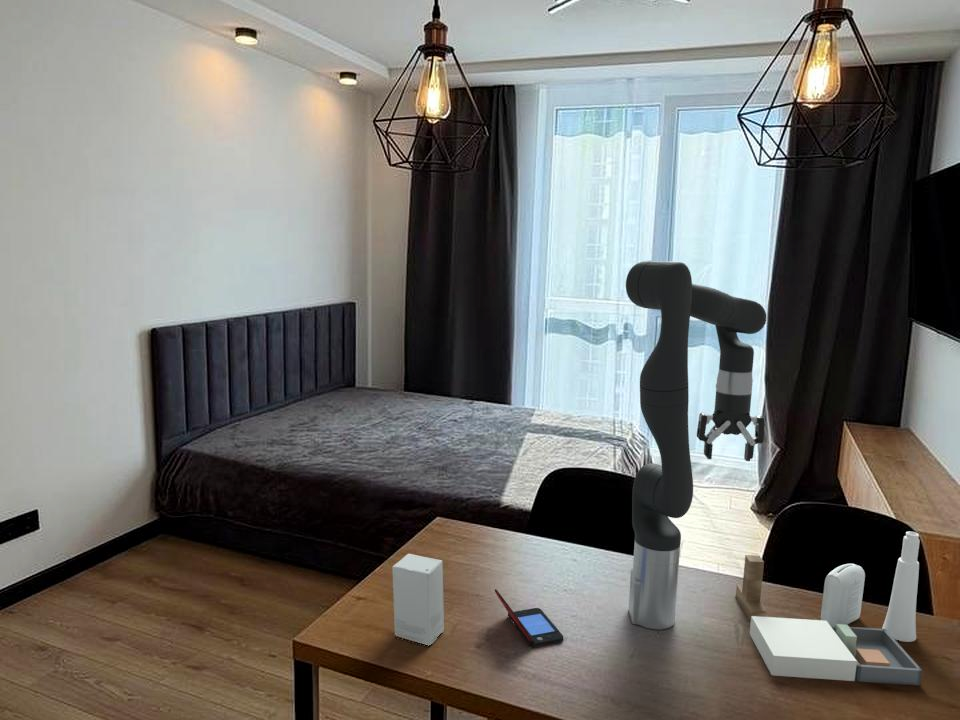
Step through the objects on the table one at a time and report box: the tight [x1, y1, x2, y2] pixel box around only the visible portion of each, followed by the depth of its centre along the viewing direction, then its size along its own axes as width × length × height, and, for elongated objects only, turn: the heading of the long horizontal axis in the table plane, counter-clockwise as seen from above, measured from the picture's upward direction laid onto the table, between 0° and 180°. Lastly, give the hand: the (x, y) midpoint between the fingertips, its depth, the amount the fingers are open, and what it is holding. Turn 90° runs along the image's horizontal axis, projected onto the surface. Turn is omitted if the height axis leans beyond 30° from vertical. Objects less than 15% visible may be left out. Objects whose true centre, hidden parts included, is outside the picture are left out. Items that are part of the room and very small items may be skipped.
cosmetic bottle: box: [881, 530, 921, 643], centre depth 139 cm, size 6×6×22 cm
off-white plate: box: [749, 616, 857, 682], centre depth 132 cm, size 15×14×4 cm
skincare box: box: [392, 553, 445, 647], centre depth 136 cm, size 8×7×16 cm
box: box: [831, 626, 923, 686], centre depth 131 cm, size 11×14×3 cm
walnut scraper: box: [735, 554, 767, 624], centre depth 148 cm, size 3×11×12 cm, turn 175°
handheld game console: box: [494, 589, 564, 649], centre depth 139 cm, size 12×11×7 cm
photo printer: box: [820, 563, 866, 626], centre depth 145 cm, size 10×4×12 cm, turn 123°
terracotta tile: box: [855, 649, 890, 667], centre depth 129 cm, size 4×4×2 cm
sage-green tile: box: [836, 624, 857, 656], centre depth 134 cm, size 4×4×2 cm
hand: (727, 459), depth 156 cm, fingers open, 8 cm apart
